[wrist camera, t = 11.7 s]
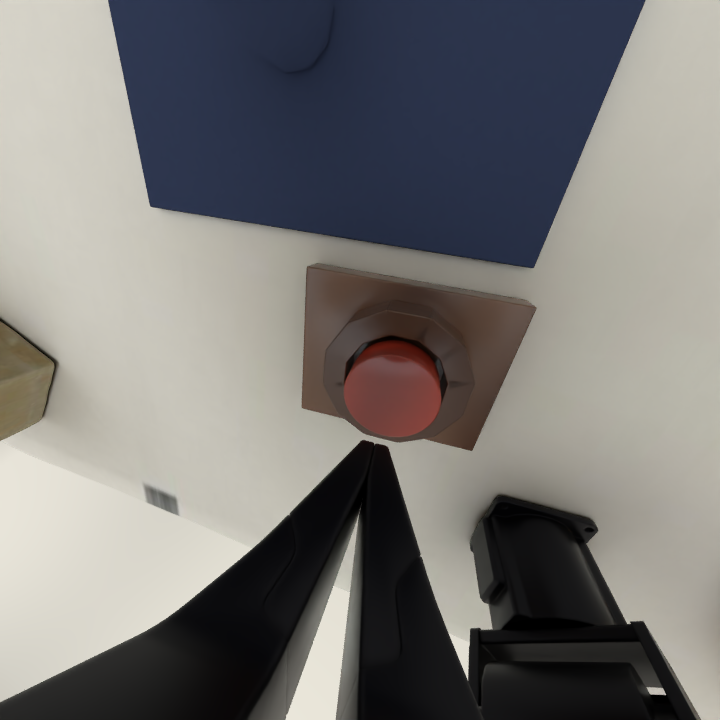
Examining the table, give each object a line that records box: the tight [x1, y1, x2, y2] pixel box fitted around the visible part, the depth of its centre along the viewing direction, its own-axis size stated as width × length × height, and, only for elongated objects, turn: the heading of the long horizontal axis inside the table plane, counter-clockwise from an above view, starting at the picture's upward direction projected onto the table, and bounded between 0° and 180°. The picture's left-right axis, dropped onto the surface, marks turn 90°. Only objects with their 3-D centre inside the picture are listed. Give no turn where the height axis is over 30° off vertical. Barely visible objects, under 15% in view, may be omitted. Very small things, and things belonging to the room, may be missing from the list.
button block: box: [302, 263, 536, 451], centre depth 15 cm, size 11×9×3 cm
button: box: [344, 340, 441, 437], centre depth 13 cm, size 4×4×2 cm
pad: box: [108, 0, 645, 268], centre depth 11 cm, size 20×12×1 cm, turn 83°
